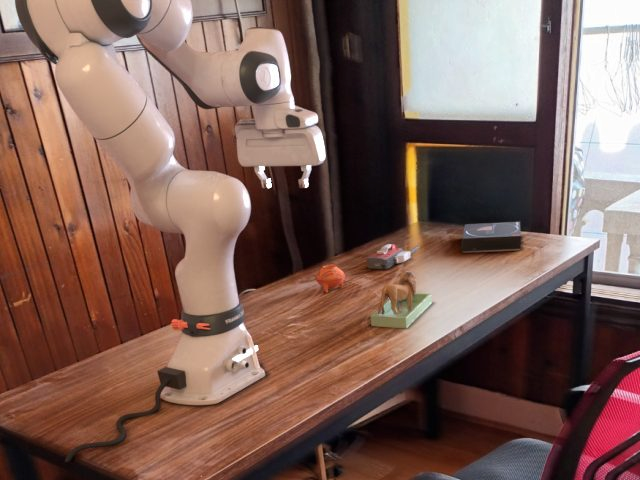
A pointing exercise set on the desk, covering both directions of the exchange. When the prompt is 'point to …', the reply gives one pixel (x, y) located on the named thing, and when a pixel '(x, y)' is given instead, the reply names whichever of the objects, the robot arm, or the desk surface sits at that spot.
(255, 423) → the desk surface
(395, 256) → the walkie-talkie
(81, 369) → the desk surface
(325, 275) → the pot
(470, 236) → the portable cd player
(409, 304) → the lion figurine
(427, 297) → the tray
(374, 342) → the desk surface
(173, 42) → the robot arm
